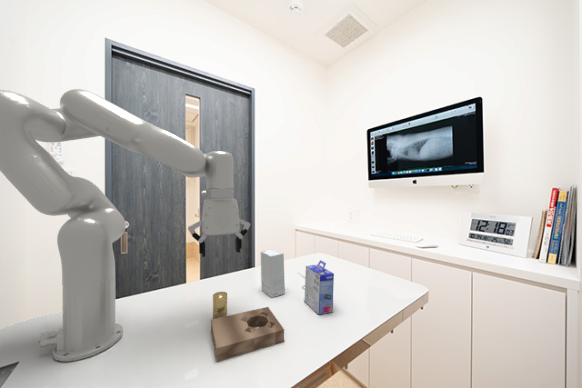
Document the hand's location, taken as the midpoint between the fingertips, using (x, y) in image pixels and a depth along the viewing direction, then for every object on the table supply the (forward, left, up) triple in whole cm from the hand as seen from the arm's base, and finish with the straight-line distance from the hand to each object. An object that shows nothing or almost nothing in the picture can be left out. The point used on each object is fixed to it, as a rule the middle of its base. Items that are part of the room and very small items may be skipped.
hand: (221, 253), depth 65 cm
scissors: (+38, +14, -20) cm, 45 cm away
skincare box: (+20, +10, -19) cm, 29 cm away
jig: (+5, -11, -19) cm, 22 cm away
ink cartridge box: (+30, -6, -19) cm, 36 cm away
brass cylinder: (0, 0, -19) cm, 19 cm away
